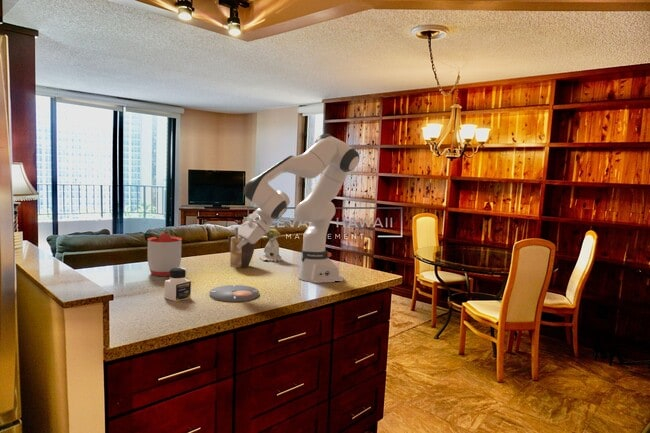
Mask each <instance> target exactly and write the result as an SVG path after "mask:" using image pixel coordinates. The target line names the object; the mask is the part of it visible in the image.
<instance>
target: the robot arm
mask: <svg viewBox="0 0 650 433" xmlns="http://www.w3.org/2000/svg"><path fill="white" fill-rule="evenodd" d="M359 162H360V154H359V152H358V151H357V150H356V149H355V148H353V147H351V146H350V145H349V144H347V143H346V142H345V141H343V140H341V139H339V138H336V137H334V136H333V135H331V134H329V133H322V134H320V135H319V136H318V137H317V138H316V140H315V141H314V144H312V145H311V146H310V147H308V149H306V150H305V152H302V153H301V154H299V155H289V156H286V157H285V158H282V160H280V161H279V162H277V163H275V164H274V165H272V166H271V167H269V168H268V169H266V170H265V171H263V172H262V173H260V174H257V176H255V177H253V178H251V179H249V181H247V183H246V184H245V185H244V187H243V192H244V196H245V198H246V199H247V200H249V201H250V202H251V203H253V204H254V205H255V206H256V207H257V209H255V210H254V211H253V213H251V215H249V216H248V220H246V221H244V222H243V223H241V225H240V226H239V227H237V228H238V237H242V240H241V241H240V242H239V243H237V244H236V247H237V248H238V249H240V248H241V247H242V246H243V245H245V244H246V243H247V242H249V243H251V244H254V243H257V242H258V241H259V240H261V238H263V237H264V236H265V235H264V234H265V233H268V232H269V231H270V229H271V226H272V225H273V222H274V221H276V220H279V219H280V218H281V217H282V216H283V214H285V213H286V212H287V210H288V206H289V204H290V202H291V200H290V198H289V196H288V195H287V194H286V193H285V192H284V191H282V190H275V189H274V188H273V187H272V186H271V185H270V184H269V183H270V182H272V181H273V180H274V179H276V178H277V177H278V176H280V175H281V174H284V173H289V174H293V175H295V176H298V177H300V178H303V179H315V178H317V177H319V175H320V177H319V178H318V181H317V182H316V185H315V186H314V187H313V188H312V189H311V191H310V192H309V193H308V195H306V197H305V198H304V199H303V200H302V201H300V202H299V203H298V204H297V205H296V207H295V211H294V212H295V213H294V214H295V217H296V219H297V221H298V220H299V221H300V222H302V223H307V224H308V227H307V228H306V230H305V231H304V233H303V235H302V236H303V239H302V249H301V257H300V258H301V259H300V260H301V265H300V269H299V273H298V276H297V278H298V279H299V280H302V281H305V282H310V283H315V284H320V283H321V284H322V283H323V282H324V283H336V282H335V281H340V282H343V281H344V276H343V275H342V274H340V269H339V266H338V265H337V264H336V263H335V262H333V260H332V259H330V257H332V253H331V252H329V251H328V250H326V244H327V243H326V242H327V234H328V231H329V230H328V229H329V227H330V224H331V221H332V219H333V218H334V216H335V215H336V207H335V204H334V203H333V202H332V200H334V199H335V198H336V197H337V195H338V194H339V192H340V191H341V188H342V186H343V184H344V183H345V180H346V178H347V176H348V174H349V172H351V171H353V170H355V168H356V167H357V166H358V164H359Z"/></svg>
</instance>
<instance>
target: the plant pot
mask: <svg viewBox="0 0 650 433" xmlns="http://www.w3.org/2000/svg"><path fill="white" fill-rule="evenodd" d="M231 237H235V234H232V235H228V237H227V239H228V246H229V253H230V254H231ZM256 243H257V242H256ZM256 243H254V244H251V243H249V242H247V243H246V244H245V245H243V246H242V254H241V267H236V268H238V269H245V268H248V267H249V265H250V263H251V260H252V257H253V255H254V252H255V248H256Z"/></svg>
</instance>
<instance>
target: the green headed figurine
mask: <svg viewBox="0 0 650 433" xmlns="http://www.w3.org/2000/svg"><path fill="white" fill-rule="evenodd" d="M281 235H282V234H281V233H280V232H279V231H278V230H277V229H276V228H271V227H270V231H269V232H268V233H265V234H264V236H265V237H267V239H268V242H267V243H266V245H265V247H264V249H263V253H265V254H264V255H260V256H259V259H262V262H263V261H266V260H267V261H268V262H270V261H271V262H273V261H274V262H275V263H277V262H280V261H281V260H282V256H281V255H280V244H279V242H278V240H277V238H279V237H280V236H281Z"/></svg>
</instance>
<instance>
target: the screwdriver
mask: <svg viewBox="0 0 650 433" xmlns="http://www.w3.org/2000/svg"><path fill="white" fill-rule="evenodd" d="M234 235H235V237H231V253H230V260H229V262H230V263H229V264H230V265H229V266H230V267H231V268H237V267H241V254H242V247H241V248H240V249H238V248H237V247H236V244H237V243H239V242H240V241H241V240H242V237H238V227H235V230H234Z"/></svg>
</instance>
